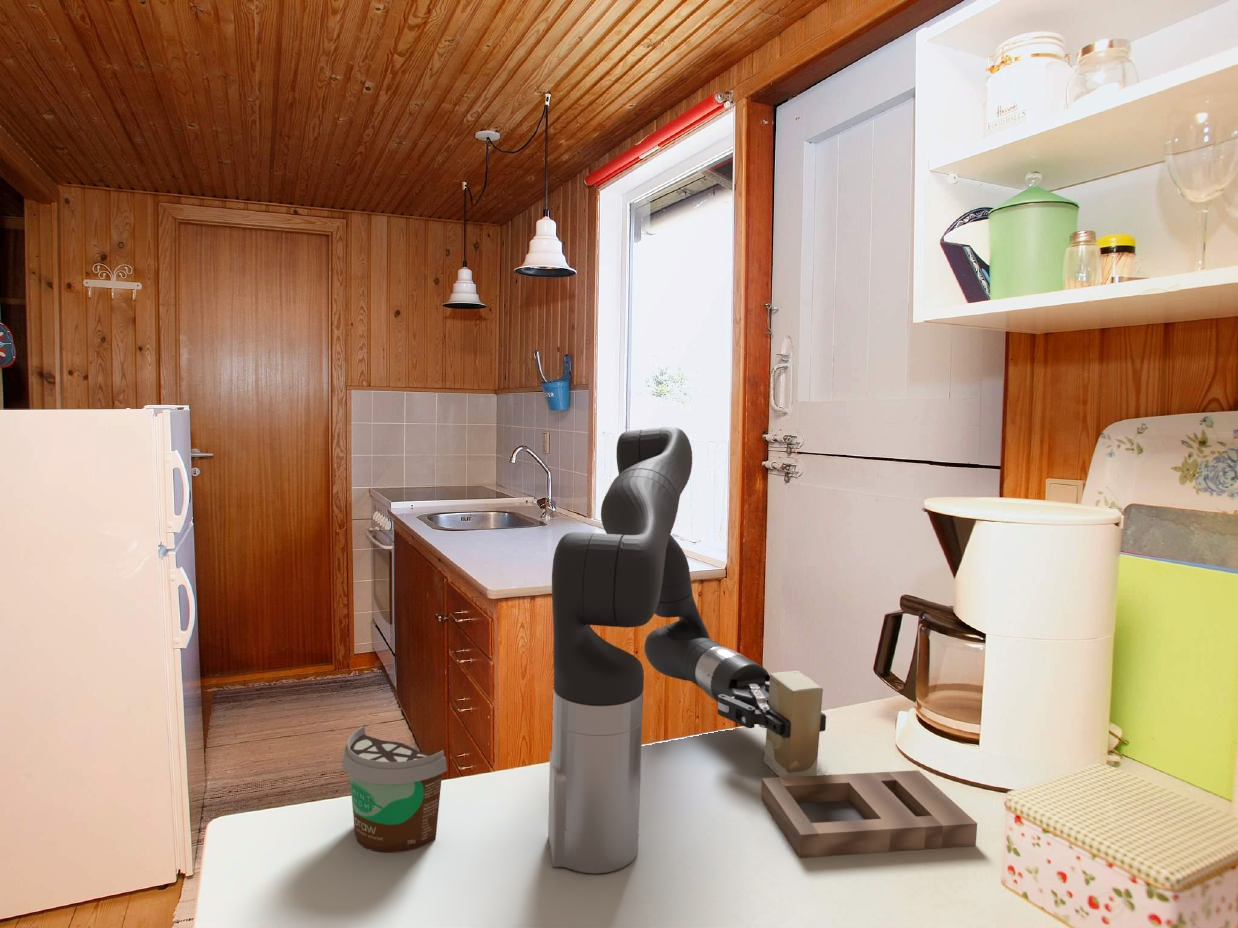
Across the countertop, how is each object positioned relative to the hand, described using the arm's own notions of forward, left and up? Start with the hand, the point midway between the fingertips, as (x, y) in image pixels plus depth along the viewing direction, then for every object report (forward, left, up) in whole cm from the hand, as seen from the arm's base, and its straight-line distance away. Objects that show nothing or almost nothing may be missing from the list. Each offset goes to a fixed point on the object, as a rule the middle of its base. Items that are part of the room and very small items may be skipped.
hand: (805, 726), depth 98 cm
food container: (-50, -7, -7) cm, 51 cm away
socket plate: (+3, -9, -7) cm, 12 cm away
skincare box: (-1, +3, -7) cm, 8 cm away
